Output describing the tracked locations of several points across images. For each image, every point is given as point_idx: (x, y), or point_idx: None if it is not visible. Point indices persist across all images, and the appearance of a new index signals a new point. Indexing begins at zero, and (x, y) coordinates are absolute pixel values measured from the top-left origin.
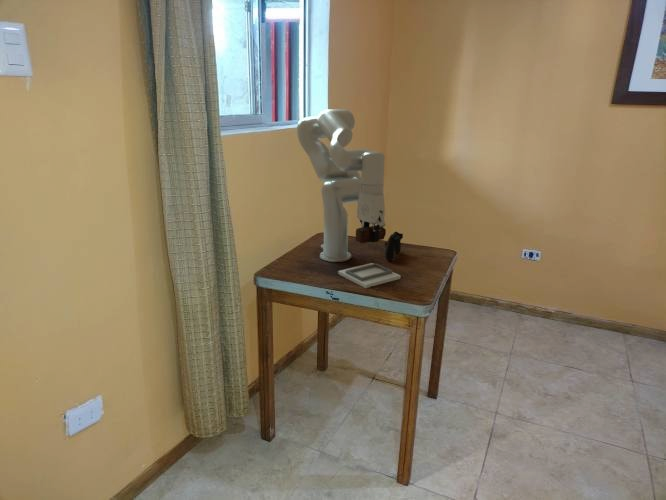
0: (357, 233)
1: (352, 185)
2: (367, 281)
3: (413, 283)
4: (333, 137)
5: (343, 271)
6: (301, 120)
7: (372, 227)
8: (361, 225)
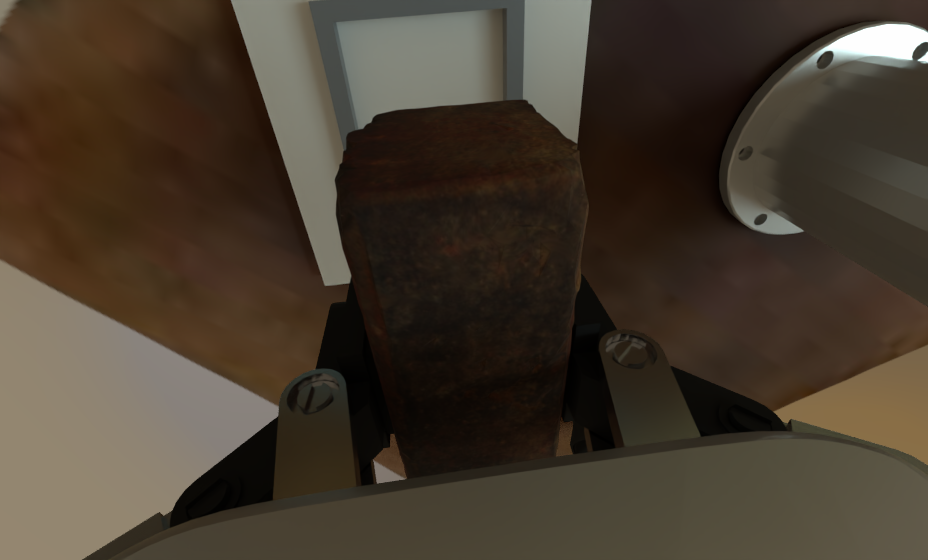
0: (503, 139)
1: None
2: (292, 44)
3: (243, 294)
4: None
5: None
6: None
7: (334, 429)
8: (663, 355)
